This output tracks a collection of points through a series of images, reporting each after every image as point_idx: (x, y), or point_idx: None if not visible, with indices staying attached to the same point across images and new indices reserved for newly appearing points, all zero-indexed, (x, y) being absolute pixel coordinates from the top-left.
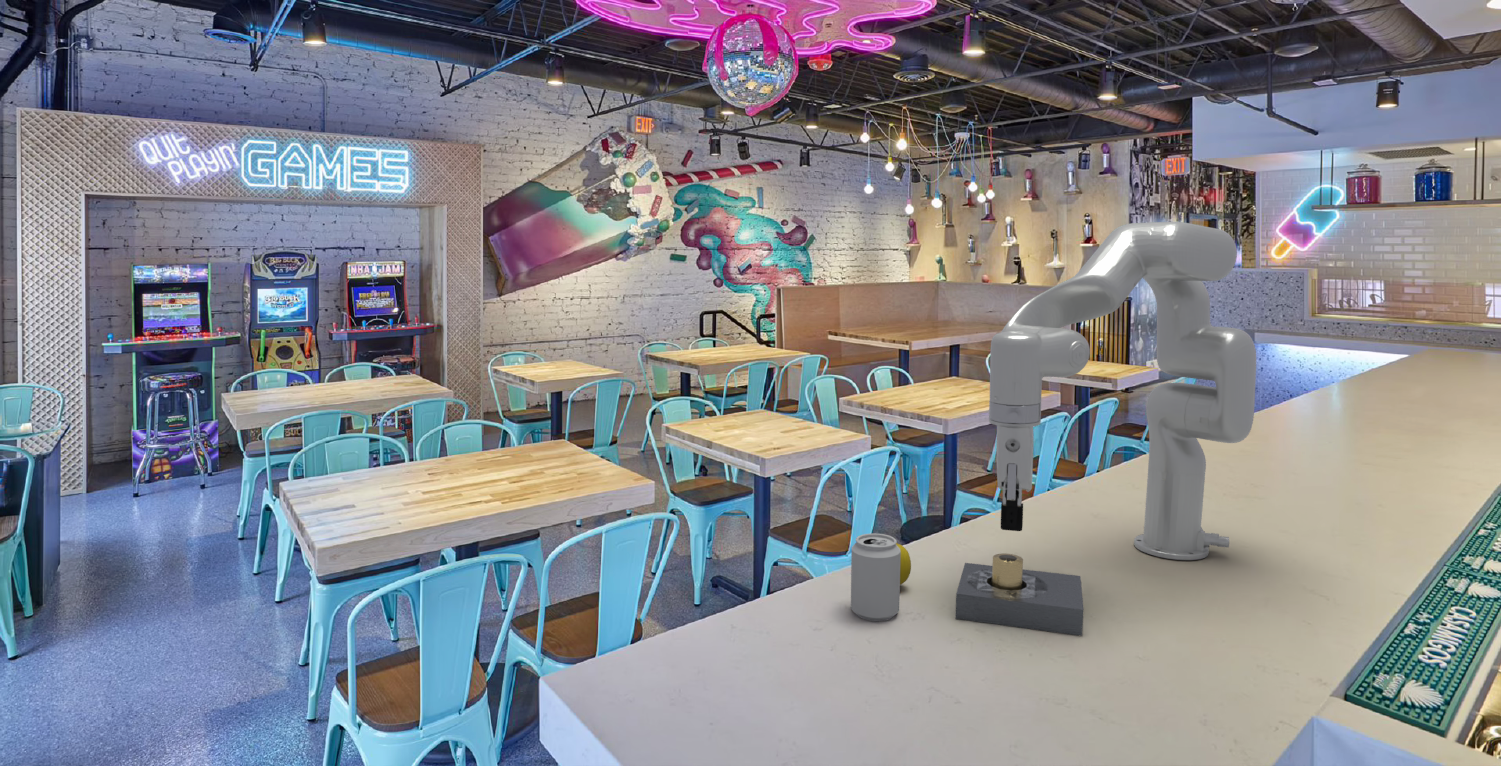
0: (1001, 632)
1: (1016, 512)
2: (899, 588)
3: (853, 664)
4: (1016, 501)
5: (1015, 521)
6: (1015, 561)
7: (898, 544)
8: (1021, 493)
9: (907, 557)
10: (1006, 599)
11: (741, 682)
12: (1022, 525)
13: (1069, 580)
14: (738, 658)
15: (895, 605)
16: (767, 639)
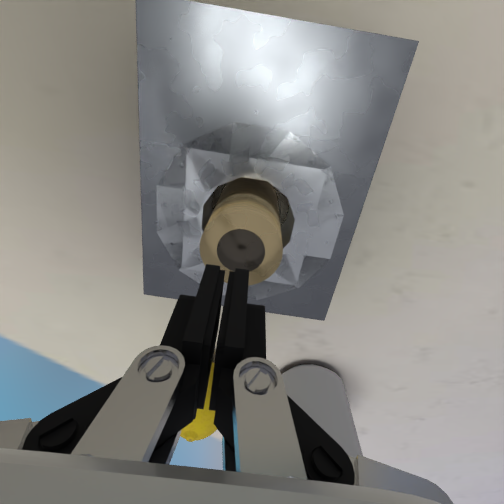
0: (370, 224)
1: (265, 351)
2: (323, 398)
3: (465, 401)
4: (320, 429)
5: (263, 320)
6: (264, 234)
7: (189, 430)
8: (263, 447)
9: (206, 399)
10: (350, 235)
11: (490, 473)
12: (217, 270)
13: (189, 43)
14: (436, 478)
15: (332, 382)
16: (391, 464)
